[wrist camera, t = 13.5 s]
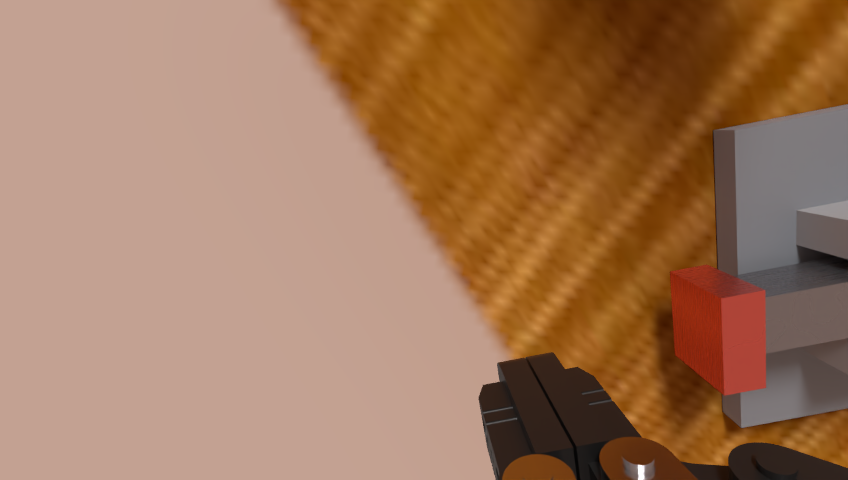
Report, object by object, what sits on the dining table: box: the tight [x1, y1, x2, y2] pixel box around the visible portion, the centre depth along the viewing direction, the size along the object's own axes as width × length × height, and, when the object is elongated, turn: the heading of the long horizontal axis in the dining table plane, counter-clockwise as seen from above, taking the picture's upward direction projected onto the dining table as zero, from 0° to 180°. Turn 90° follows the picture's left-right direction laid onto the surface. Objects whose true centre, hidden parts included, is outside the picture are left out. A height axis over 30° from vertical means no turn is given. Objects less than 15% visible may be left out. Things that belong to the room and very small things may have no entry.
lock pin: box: [670, 256, 848, 396], centre depth 13 cm, size 9×3×2 cm, turn 101°
